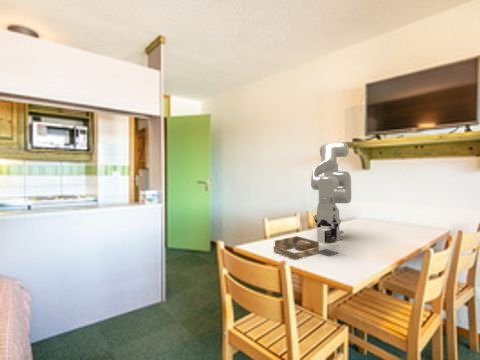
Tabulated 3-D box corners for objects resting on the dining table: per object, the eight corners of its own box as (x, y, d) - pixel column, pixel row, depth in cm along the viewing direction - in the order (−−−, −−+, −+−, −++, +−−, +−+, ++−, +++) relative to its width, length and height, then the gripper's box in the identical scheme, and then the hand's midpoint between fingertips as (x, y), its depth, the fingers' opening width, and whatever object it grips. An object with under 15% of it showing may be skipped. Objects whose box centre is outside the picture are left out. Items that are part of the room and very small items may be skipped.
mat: (326, 249, 144) (326, 248, 144) (338, 253, 138) (338, 252, 137) (315, 252, 140) (315, 251, 140) (328, 256, 133) (328, 255, 133)
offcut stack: (300, 248, 148) (300, 239, 148) (312, 251, 141) (312, 242, 141) (295, 249, 146) (295, 240, 146) (307, 253, 139) (307, 244, 139)
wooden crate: (296, 246, 152) (296, 236, 152) (318, 253, 138) (318, 241, 138) (273, 251, 143) (273, 240, 142) (294, 259, 129) (294, 247, 129)
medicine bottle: (324, 244, 134) (324, 220, 134) (317, 240, 141) (316, 218, 141) (337, 243, 136) (336, 219, 136) (328, 239, 143) (328, 217, 142)
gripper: (345, 201, 132) (345, 236, 133) (318, 199, 147) (318, 230, 148) (335, 202, 128) (336, 238, 129) (308, 200, 143) (309, 232, 144)
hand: (326, 234), depth 138 cm, fingers closed on medicine bottle, 8 cm apart
